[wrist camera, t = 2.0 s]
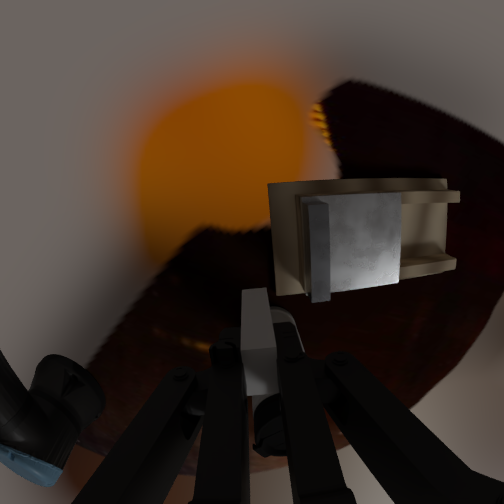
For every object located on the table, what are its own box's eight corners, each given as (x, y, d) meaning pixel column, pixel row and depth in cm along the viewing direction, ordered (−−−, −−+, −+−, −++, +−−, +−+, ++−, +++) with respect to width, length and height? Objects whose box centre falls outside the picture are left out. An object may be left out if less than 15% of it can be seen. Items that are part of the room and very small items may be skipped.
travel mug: (237, 322, 38) (235, 438, 19) (279, 297, 38) (309, 406, 18) (262, 352, 40) (275, 467, 21) (302, 329, 39) (341, 440, 20)
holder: (276, 292, 37) (279, 305, 34) (267, 183, 34) (270, 184, 30) (439, 270, 38) (453, 278, 34) (442, 178, 34) (459, 180, 30)
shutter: (304, 292, 33) (311, 307, 29) (300, 196, 30) (307, 199, 26) (395, 280, 33) (410, 291, 29) (397, 192, 30) (414, 194, 26)
